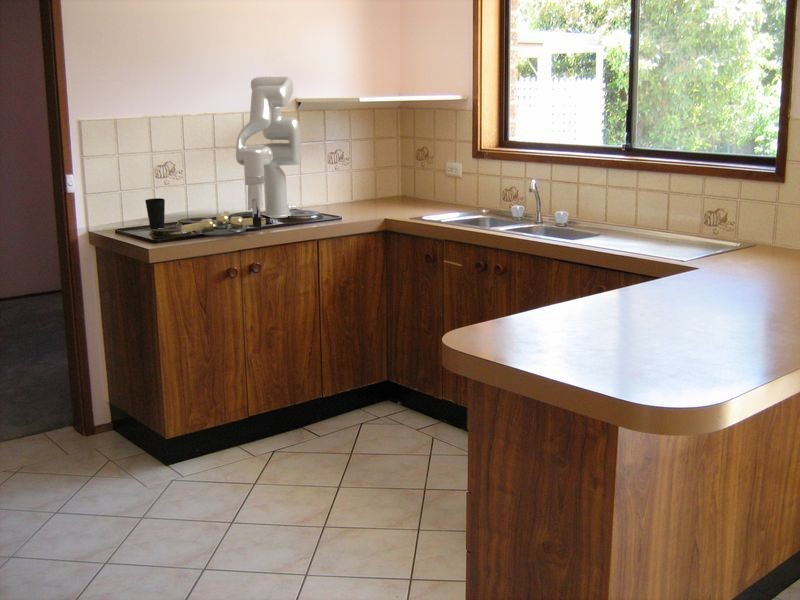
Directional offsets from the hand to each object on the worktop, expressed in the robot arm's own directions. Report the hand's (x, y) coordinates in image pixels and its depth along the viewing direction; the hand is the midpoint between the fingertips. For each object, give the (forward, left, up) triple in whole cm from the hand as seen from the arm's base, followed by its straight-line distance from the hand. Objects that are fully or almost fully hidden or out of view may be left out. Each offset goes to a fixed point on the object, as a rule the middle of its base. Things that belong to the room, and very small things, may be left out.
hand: (257, 226), depth 357 cm
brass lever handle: (-2, -8, -1) cm, 8 cm away
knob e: (+17, -16, -1) cm, 23 cm away
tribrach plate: (+6, -16, -3) cm, 17 cm away
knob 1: (-2, -24, -1) cm, 24 cm away
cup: (+20, -40, -3) cm, 45 cm away
